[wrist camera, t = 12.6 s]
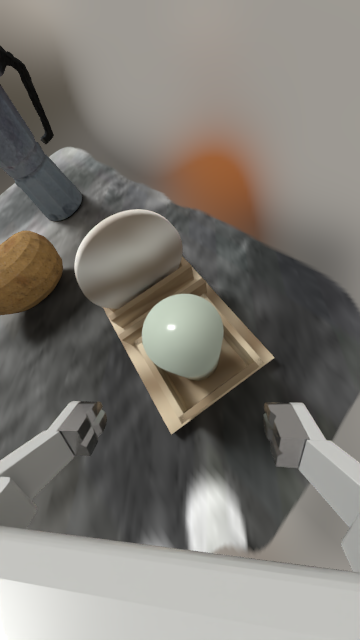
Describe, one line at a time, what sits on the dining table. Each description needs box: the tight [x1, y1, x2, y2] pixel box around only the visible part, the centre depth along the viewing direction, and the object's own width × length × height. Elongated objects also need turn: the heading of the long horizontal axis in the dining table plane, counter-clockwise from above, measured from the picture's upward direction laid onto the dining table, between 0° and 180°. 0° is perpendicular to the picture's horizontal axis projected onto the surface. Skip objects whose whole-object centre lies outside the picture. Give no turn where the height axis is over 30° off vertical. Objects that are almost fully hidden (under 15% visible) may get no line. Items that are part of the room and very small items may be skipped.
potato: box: [0, 231, 63, 315], centre depth 27 cm, size 10×14×8 cm
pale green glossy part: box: [142, 294, 224, 381], centre depth 16 cm, size 5×5×11 cm
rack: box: [74, 209, 274, 435], centre depth 19 cm, size 22×14×13 cm, turn 34°
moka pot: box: [0, 46, 82, 221], centre depth 29 cm, size 10×15×20 cm, turn 139°
